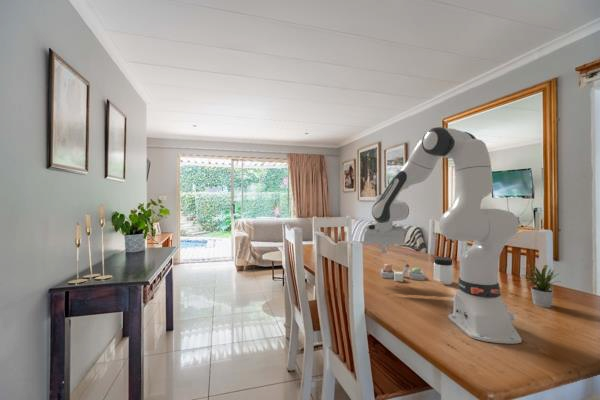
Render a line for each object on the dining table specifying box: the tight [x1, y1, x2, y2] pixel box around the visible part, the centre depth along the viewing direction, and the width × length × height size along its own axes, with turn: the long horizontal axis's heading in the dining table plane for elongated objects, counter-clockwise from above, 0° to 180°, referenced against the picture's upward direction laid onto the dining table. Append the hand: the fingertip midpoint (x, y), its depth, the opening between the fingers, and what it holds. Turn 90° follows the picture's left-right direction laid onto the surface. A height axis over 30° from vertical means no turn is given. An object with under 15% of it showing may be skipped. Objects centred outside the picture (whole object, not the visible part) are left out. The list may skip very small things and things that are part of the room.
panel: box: [380, 268, 426, 281], centre depth 145 cm, size 14×22×4 cm, turn 77°
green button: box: [411, 267, 421, 274], centre depth 146 cm, size 4×4×4 cm
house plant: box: [519, 263, 561, 308], centre depth 113 cm, size 14×14×16 cm
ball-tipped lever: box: [401, 263, 410, 278], centre depth 147 cm, size 2×2×7 cm
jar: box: [433, 256, 454, 286], centre depth 142 cm, size 9×8×12 cm
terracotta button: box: [383, 263, 393, 272], centre depth 149 cm, size 4×4×4 cm
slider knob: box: [393, 271, 404, 283], centre depth 142 cm, size 4×4×4 cm
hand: (383, 252), depth 144 cm, fingers closed
